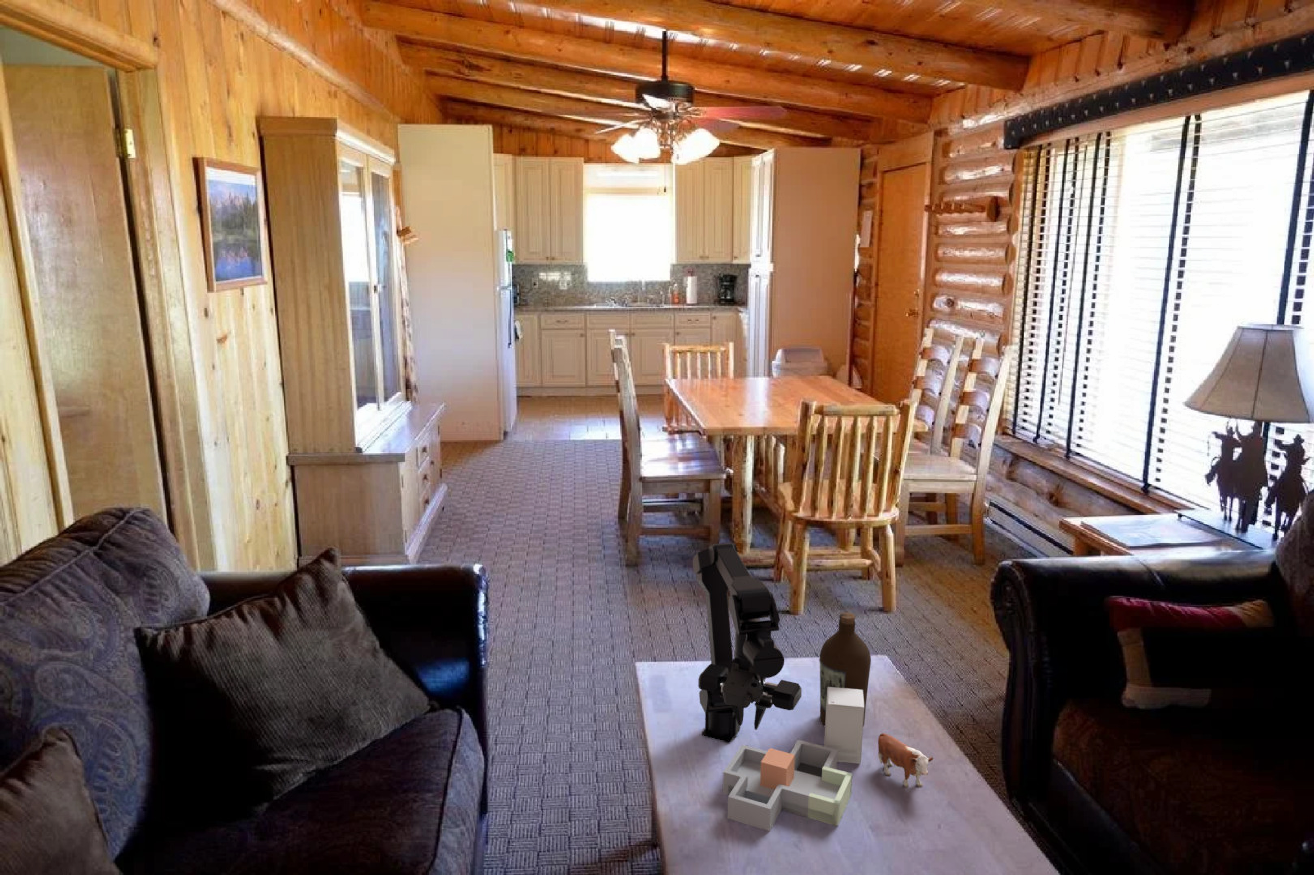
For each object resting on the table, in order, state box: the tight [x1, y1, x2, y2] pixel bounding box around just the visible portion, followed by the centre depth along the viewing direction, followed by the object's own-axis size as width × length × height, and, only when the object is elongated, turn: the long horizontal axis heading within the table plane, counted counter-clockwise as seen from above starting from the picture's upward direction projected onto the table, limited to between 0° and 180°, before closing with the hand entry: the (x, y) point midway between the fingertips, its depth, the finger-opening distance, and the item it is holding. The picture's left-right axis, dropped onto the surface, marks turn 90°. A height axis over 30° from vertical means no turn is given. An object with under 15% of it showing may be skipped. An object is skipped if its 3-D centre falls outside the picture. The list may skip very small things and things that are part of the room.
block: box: [760, 747, 795, 790], centre depth 165 cm, size 5×5×5 cm
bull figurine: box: [877, 732, 934, 788], centre depth 168 cm, size 4×13×8 cm, turn 27°
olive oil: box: [818, 612, 872, 728], centre depth 186 cm, size 11×11×25 cm
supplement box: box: [823, 687, 864, 765], centre depth 177 cm, size 7×7×13 cm
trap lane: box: [722, 739, 853, 832], centre depth 165 cm, size 22×23×4 cm
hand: (748, 726), depth 166 cm, fingers open, 3 cm apart
